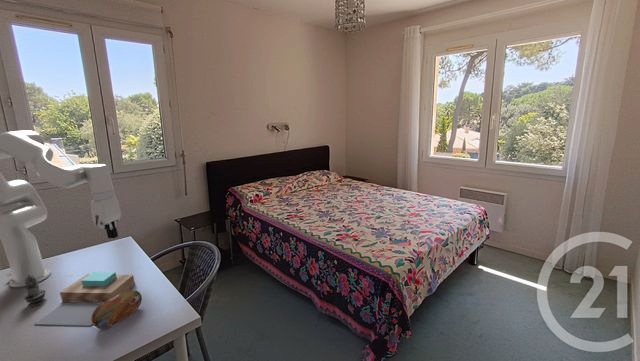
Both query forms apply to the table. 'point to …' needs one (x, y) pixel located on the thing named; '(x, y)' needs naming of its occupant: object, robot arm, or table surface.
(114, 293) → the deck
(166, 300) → the table surface
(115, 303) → the tin
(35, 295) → the grey chess piece
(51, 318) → the mat
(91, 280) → the turquoise foam pad
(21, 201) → the robot arm
